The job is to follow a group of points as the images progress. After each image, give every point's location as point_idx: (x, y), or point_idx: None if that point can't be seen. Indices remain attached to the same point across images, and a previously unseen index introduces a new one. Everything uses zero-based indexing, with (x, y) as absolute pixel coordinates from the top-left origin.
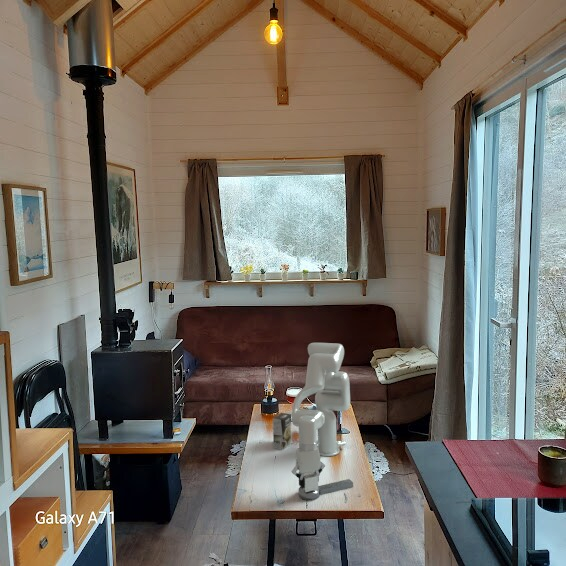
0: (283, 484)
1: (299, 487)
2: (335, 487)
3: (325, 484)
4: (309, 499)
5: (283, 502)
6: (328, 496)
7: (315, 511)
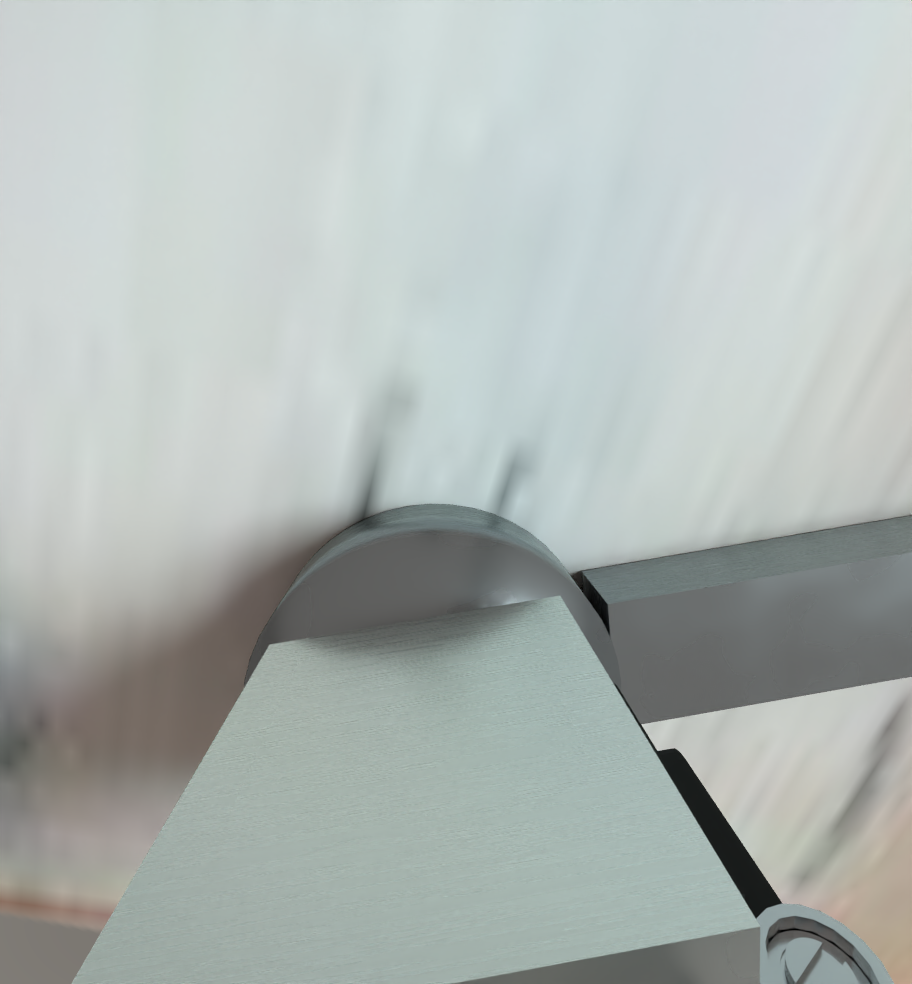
0: (39, 187)
1: (277, 611)
2: (875, 671)
3: (776, 577)
4: None
5: (24, 752)
6: (676, 737)
7: None
